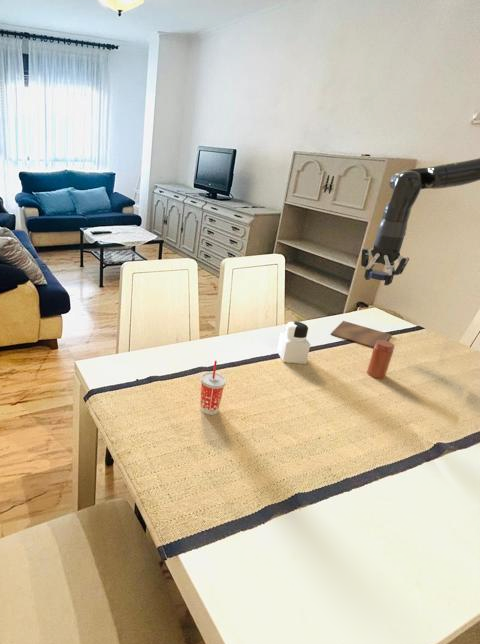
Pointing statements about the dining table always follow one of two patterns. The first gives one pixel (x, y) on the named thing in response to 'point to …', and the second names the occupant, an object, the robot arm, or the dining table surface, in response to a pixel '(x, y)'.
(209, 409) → the beverage cup
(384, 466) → the dining table surface
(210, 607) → the dining table surface
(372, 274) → the lid
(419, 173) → the robot arm
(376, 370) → the jar
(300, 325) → the medicine bottle
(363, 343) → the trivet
